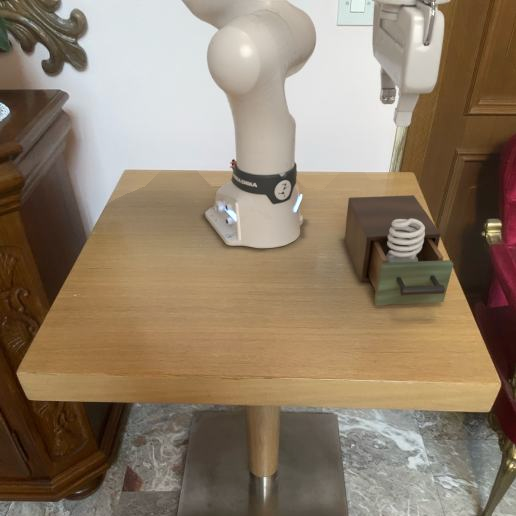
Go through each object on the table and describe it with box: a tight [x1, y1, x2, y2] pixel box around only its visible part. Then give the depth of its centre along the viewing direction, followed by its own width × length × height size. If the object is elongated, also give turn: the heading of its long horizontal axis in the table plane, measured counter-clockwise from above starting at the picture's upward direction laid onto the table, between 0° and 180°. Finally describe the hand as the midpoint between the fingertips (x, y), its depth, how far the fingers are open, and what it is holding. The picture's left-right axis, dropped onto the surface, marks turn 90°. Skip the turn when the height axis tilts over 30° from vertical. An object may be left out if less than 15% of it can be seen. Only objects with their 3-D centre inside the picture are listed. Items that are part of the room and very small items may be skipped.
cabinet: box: [343, 194, 442, 283], centre depth 97 cm, size 16×13×9 cm
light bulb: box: [386, 219, 425, 263], centre depth 85 cm, size 6×6×12 cm
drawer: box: [367, 238, 454, 306], centre depth 88 cm, size 19×11×7 cm, turn 4°
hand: (393, 113), depth 67 cm, fingers open, 8 cm apart
